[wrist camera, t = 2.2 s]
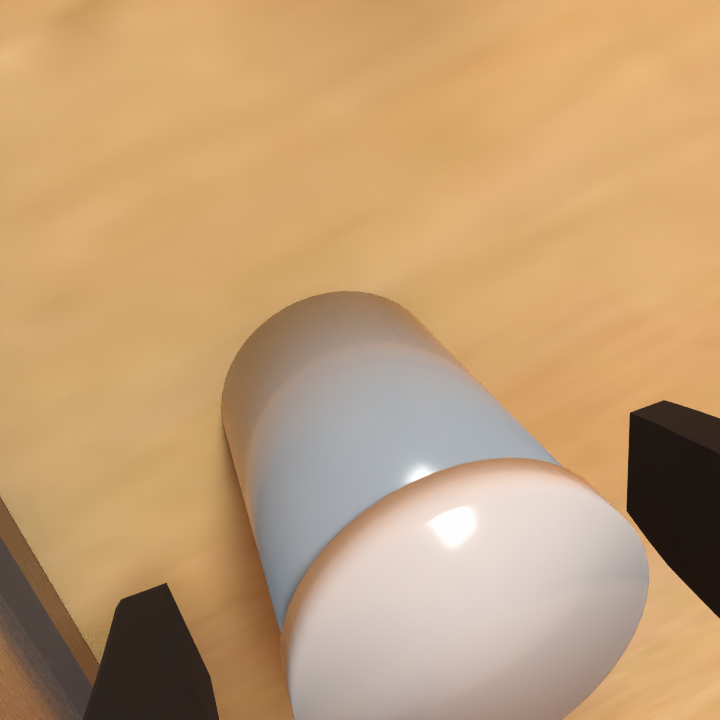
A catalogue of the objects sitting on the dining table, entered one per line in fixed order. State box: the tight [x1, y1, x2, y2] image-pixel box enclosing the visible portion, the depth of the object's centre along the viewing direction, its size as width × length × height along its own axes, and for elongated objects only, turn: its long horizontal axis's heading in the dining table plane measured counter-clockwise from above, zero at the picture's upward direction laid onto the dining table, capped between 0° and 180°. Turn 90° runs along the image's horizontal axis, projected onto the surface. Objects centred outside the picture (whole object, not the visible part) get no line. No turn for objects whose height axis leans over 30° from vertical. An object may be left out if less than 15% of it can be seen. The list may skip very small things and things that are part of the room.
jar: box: [221, 291, 649, 720], centre depth 11 cm, size 5×5×6 cm
